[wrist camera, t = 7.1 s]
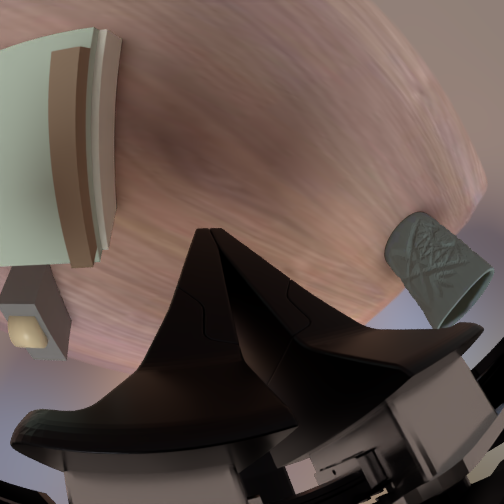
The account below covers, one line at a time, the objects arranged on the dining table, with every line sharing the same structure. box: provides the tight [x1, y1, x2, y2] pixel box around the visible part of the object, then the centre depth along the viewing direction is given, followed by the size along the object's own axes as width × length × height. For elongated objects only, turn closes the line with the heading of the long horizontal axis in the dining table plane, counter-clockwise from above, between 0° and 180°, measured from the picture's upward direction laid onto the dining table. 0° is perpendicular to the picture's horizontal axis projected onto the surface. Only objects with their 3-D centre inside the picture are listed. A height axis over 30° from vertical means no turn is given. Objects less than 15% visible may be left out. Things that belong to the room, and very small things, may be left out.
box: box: [91, 29, 122, 250], centre depth 10 cm, size 12×14×5 cm
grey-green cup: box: [385, 212, 494, 329], centre depth 27 cm, size 10×10×12 cm
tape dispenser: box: [0, 264, 71, 361], centre depth 18 cm, size 8×4×7 cm, turn 170°
